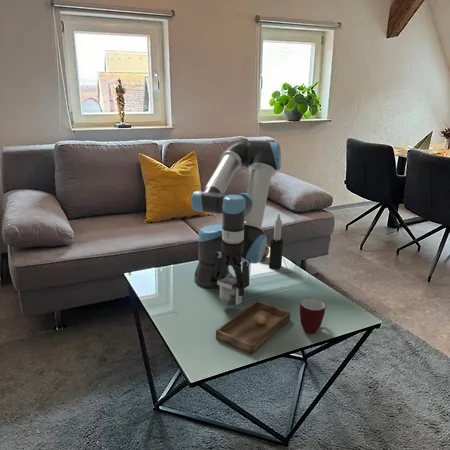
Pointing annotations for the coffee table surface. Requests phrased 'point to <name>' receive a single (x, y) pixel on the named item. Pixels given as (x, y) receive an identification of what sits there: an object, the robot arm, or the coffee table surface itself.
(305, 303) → the mug
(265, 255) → the fruit
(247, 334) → the tray
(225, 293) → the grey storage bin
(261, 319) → the ball
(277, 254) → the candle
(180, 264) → the coffee table surface
